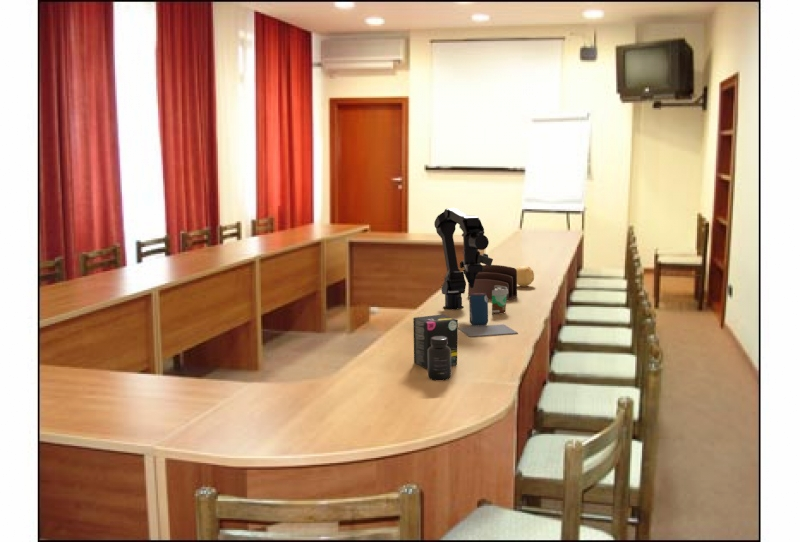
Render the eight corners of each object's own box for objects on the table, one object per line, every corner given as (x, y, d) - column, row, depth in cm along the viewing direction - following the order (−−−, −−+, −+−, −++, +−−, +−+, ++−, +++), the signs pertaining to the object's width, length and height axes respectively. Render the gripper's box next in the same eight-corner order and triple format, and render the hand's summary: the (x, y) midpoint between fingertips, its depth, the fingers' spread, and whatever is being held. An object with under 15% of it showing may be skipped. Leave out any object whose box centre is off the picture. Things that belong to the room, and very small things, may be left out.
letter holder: (477, 293, 354) (477, 263, 352) (517, 297, 344) (517, 266, 341) (467, 297, 346) (467, 266, 343) (508, 301, 335) (508, 269, 333)
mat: (458, 328, 284) (458, 327, 284) (504, 325, 288) (504, 324, 288) (469, 337, 271) (469, 336, 271) (517, 333, 275) (517, 332, 275)
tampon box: (427, 370, 230) (427, 323, 228) (412, 363, 239) (412, 317, 236) (458, 365, 235) (458, 318, 233) (443, 358, 244) (442, 313, 241)
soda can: (491, 324, 289) (491, 292, 288) (480, 326, 284) (480, 294, 283) (477, 322, 293) (476, 291, 292) (466, 325, 288) (465, 293, 287)
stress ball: (511, 288, 370) (516, 277, 361) (511, 271, 375) (516, 260, 367) (531, 291, 370) (536, 281, 362) (531, 274, 376) (536, 263, 367)
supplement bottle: (426, 374, 226) (426, 335, 224) (449, 373, 227) (449, 334, 225) (429, 381, 219) (428, 340, 218) (452, 380, 220) (452, 340, 218)
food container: (507, 315, 305) (507, 290, 304) (491, 315, 307) (491, 290, 305) (509, 309, 317) (509, 285, 316) (494, 308, 319) (494, 285, 317)
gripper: (496, 249, 292) (496, 289, 294) (486, 246, 311) (487, 284, 312) (467, 250, 291) (468, 291, 293) (459, 247, 310) (460, 285, 311)
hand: (471, 287), depth 302 cm, fingers closed
